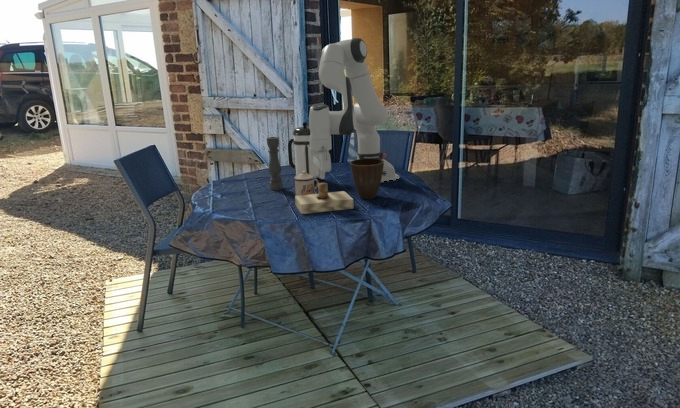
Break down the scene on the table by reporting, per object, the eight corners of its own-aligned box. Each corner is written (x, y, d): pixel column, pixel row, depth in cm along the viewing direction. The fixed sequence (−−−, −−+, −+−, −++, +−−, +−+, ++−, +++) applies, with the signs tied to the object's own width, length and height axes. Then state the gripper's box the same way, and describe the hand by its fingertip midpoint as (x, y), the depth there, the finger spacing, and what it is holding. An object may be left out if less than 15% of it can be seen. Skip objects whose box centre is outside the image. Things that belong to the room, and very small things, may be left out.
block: (344, 199, 216) (344, 191, 215) (353, 208, 203) (353, 199, 202) (295, 204, 211) (294, 195, 210) (301, 214, 198) (300, 204, 196)
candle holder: (280, 190, 236) (276, 138, 229) (268, 189, 237) (264, 138, 230) (284, 186, 242) (280, 136, 235) (272, 186, 243) (268, 136, 236)
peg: (327, 204, 209) (326, 182, 206) (329, 207, 205) (328, 184, 203) (318, 205, 208) (317, 183, 205) (320, 208, 204) (319, 185, 202)
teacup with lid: (301, 200, 218) (300, 174, 214) (291, 196, 225) (290, 171, 222) (324, 195, 224) (323, 170, 221) (313, 191, 232) (312, 167, 228)
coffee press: (322, 175, 263) (319, 119, 255) (321, 182, 248) (319, 123, 240) (289, 176, 263) (286, 120, 255) (287, 183, 248) (283, 124, 239)
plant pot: (362, 203, 210) (361, 166, 205) (345, 195, 222) (343, 161, 218) (390, 197, 216) (390, 162, 212) (372, 190, 229) (372, 157, 224)
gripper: (334, 148, 190) (335, 183, 194) (322, 141, 209) (324, 172, 213) (318, 149, 189) (319, 184, 193) (308, 142, 208) (310, 173, 212)
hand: (322, 178), depth 203 cm, fingers closed
